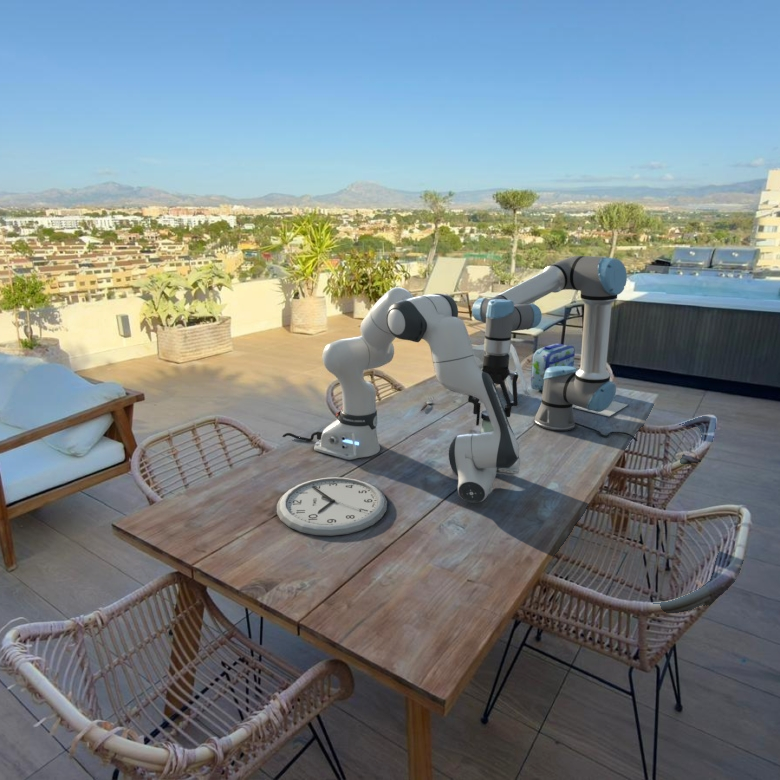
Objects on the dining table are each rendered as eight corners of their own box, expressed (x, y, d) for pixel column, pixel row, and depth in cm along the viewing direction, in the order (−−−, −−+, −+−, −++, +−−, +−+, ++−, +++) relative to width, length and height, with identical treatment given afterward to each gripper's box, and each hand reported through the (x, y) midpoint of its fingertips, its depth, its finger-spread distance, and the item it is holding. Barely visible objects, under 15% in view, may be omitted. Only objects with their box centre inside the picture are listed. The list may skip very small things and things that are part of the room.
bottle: (477, 465, 168) (481, 412, 163) (494, 466, 168) (499, 413, 162) (479, 473, 163) (483, 418, 158) (497, 474, 163) (501, 419, 157)
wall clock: (392, 527, 129) (268, 531, 127) (391, 533, 130) (269, 537, 127) (383, 473, 158) (282, 475, 155) (383, 478, 158) (282, 480, 156)
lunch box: (547, 395, 239) (552, 351, 233) (526, 390, 247) (530, 347, 240) (574, 384, 257) (579, 343, 251) (554, 380, 264) (558, 339, 258)
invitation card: (608, 416, 214) (573, 407, 224) (608, 416, 214) (573, 408, 224) (628, 404, 229) (594, 396, 238) (628, 405, 229) (594, 397, 238)
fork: (417, 411, 216) (418, 406, 216) (428, 400, 231) (428, 395, 230) (423, 412, 215) (424, 407, 215) (434, 400, 230) (434, 396, 229)
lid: (503, 416, 162) (504, 411, 161) (499, 423, 156) (500, 417, 156) (483, 413, 164) (484, 408, 164) (478, 420, 159) (479, 414, 158)
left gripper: (519, 464, 148) (523, 446, 160) (448, 453, 154) (458, 436, 167) (517, 484, 150) (521, 464, 162) (447, 472, 156) (457, 454, 168)
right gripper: (531, 352, 155) (524, 424, 162) (463, 347, 160) (459, 418, 167) (532, 358, 148) (524, 433, 155) (460, 353, 153) (456, 426, 160)
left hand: (489, 450), depth 164 cm, fingers closed on bottle, 5 cm apart
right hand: (490, 425), depth 161 cm, fingers open, 7 cm apart
